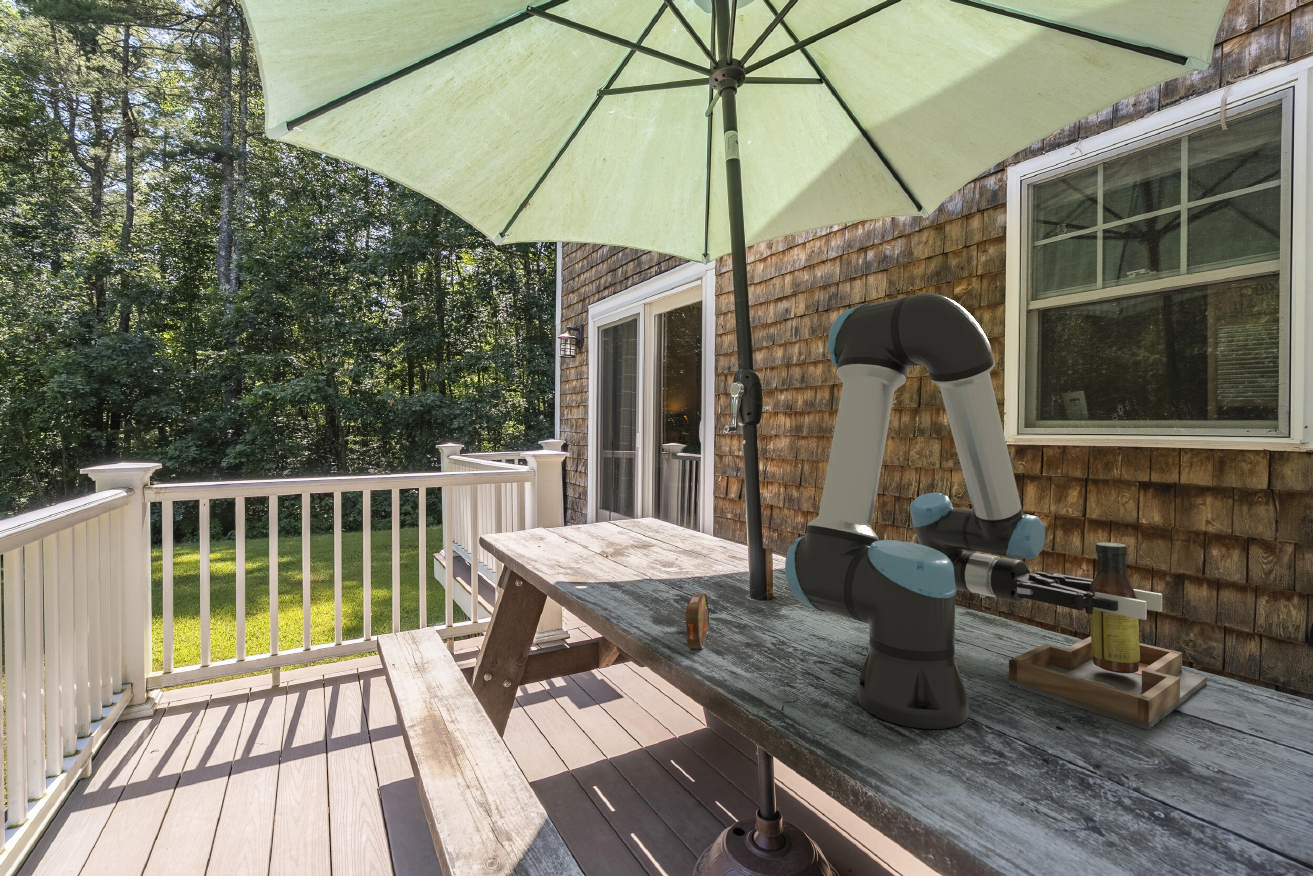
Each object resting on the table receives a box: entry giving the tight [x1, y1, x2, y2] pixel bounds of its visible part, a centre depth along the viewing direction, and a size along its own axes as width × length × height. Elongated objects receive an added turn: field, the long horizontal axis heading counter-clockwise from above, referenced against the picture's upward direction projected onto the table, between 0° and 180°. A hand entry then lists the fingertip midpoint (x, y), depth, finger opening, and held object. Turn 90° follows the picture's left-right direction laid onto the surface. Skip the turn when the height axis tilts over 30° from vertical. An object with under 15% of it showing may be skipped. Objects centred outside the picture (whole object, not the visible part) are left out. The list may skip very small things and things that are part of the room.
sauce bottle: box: [1089, 541, 1140, 674], centre depth 98 cm, size 6×6×20 cm
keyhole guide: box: [1008, 636, 1208, 731], centre depth 97 cm, size 26×18×4 cm
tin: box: [685, 592, 710, 650], centre depth 118 cm, size 15×3×8 cm, turn 168°
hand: (1153, 606), depth 94 cm, fingers closed on sauce bottle, 6 cm apart
